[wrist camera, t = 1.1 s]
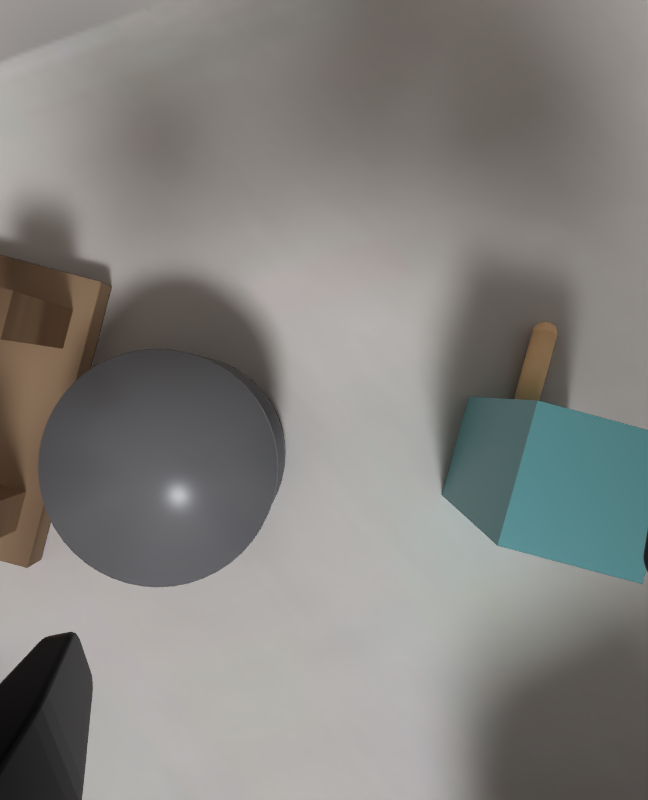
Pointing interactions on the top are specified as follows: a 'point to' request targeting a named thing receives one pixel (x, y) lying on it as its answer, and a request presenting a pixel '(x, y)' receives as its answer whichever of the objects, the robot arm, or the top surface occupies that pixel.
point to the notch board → (37, 385)
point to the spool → (160, 466)
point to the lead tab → (552, 475)
